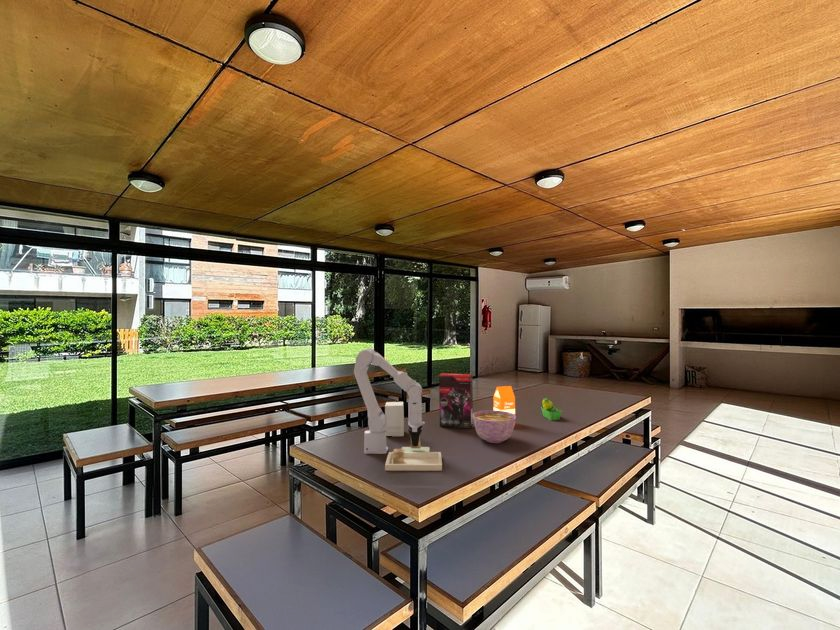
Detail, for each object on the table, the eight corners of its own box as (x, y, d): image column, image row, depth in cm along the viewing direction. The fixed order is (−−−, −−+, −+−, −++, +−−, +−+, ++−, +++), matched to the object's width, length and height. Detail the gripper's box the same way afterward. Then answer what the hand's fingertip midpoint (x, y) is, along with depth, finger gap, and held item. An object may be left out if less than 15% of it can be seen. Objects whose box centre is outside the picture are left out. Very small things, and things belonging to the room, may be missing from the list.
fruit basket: (562, 420, 218) (562, 399, 218) (547, 421, 216) (547, 400, 216) (552, 415, 229) (552, 395, 229) (538, 415, 228) (538, 396, 228)
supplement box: (404, 431, 199) (403, 401, 199) (403, 436, 190) (403, 405, 190) (385, 431, 199) (385, 401, 199) (384, 436, 190) (384, 405, 190)
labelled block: (410, 448, 166) (410, 436, 166) (411, 445, 170) (411, 433, 170) (420, 448, 166) (420, 436, 166) (420, 445, 170) (420, 433, 170)
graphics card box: (438, 427, 206) (438, 374, 206) (441, 423, 213) (441, 372, 213) (471, 429, 201) (471, 375, 201) (473, 426, 208) (473, 373, 208)
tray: (385, 471, 147) (385, 464, 147) (388, 458, 161) (388, 452, 161) (442, 471, 147) (442, 465, 147) (440, 458, 161) (440, 452, 161)
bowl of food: (464, 436, 189) (464, 412, 189) (501, 432, 196) (500, 408, 196) (486, 450, 171) (486, 423, 171) (525, 444, 178) (525, 418, 178)
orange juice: (493, 422, 214) (493, 385, 214) (507, 421, 216) (507, 384, 216) (500, 426, 206) (500, 388, 206) (515, 425, 209) (515, 387, 209)
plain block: (393, 465, 152) (393, 452, 152) (394, 461, 156) (394, 448, 156) (403, 465, 152) (403, 452, 152) (404, 461, 156) (404, 448, 156)
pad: (400, 456, 163) (400, 454, 163) (402, 448, 173) (402, 446, 173) (429, 456, 163) (429, 455, 163) (429, 448, 173) (429, 446, 173)
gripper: (424, 416, 161) (424, 449, 161) (424, 408, 175) (424, 438, 175) (407, 416, 161) (407, 449, 161) (408, 408, 176) (409, 438, 176)
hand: (415, 444), depth 168 cm, fingers closed on labelled block, 4 cm apart
